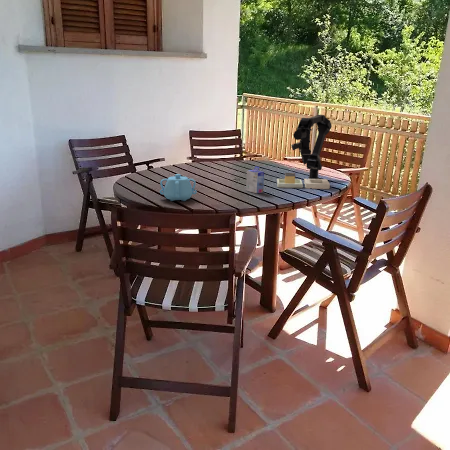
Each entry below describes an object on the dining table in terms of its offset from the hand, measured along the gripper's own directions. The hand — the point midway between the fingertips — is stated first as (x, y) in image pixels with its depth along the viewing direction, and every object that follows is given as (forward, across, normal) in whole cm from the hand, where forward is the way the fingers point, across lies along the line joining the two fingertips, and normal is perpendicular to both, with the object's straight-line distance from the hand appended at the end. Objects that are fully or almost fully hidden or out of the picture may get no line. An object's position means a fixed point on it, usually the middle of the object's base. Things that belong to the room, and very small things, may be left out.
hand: (303, 163), depth 284 cm
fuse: (+12, +11, -9) cm, 18 cm away
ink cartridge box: (+12, +30, -30) cm, 44 cm away
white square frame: (+12, +11, +8) cm, 18 cm away
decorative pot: (+12, +52, -71) cm, 89 cm away
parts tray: (+12, +11, -9) cm, 19 cm away
